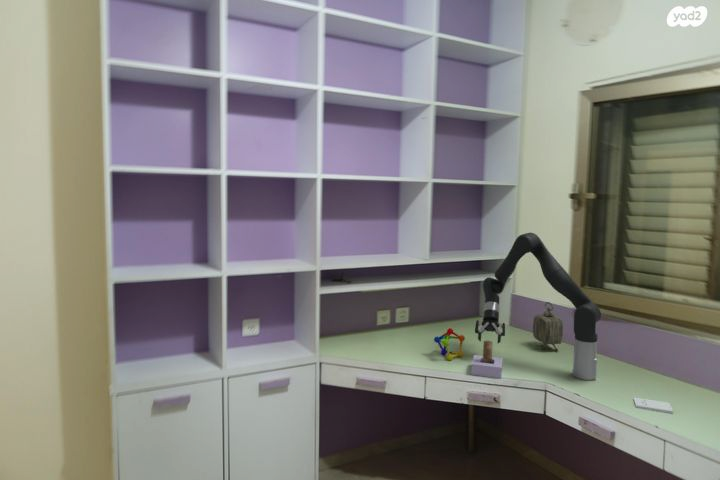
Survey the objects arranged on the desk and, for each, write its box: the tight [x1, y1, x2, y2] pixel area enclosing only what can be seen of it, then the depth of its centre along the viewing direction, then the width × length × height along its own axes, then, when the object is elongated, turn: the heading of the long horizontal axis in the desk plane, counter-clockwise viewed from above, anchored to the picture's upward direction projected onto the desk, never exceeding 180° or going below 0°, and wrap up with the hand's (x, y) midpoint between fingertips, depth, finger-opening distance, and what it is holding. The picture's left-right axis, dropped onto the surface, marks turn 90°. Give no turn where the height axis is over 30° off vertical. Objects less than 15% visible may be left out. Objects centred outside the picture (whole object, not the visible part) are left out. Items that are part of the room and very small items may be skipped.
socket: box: [470, 354, 503, 379], centre depth 223 cm, size 13×13×5 cm
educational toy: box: [433, 327, 466, 361], centre depth 242 cm, size 16×13×15 cm
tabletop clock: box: [532, 301, 564, 352], centre depth 256 cm, size 14×9×25 cm, turn 9°
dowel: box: [482, 340, 494, 364], centre depth 222 cm, size 4×4×14 cm
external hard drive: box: [632, 397, 674, 415], centre depth 189 cm, size 2×8×12 cm
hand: (489, 341), depth 233 cm, fingers open, 8 cm apart
